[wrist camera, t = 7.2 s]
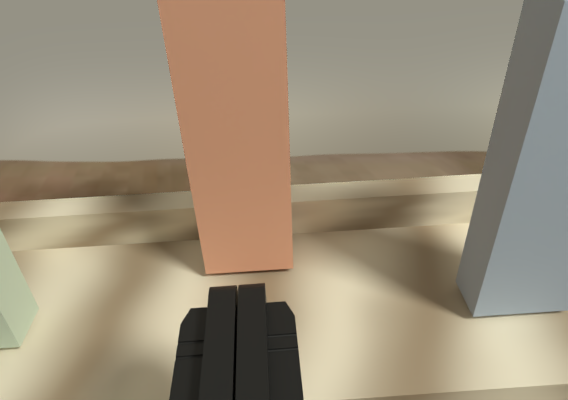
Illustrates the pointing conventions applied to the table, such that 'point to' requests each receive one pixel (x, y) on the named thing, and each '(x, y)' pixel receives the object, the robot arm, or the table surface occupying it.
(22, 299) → the pale green block
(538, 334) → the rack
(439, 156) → the table surface
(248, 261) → the orange rectangular block
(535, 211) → the light blue tall bar
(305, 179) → the table surface
